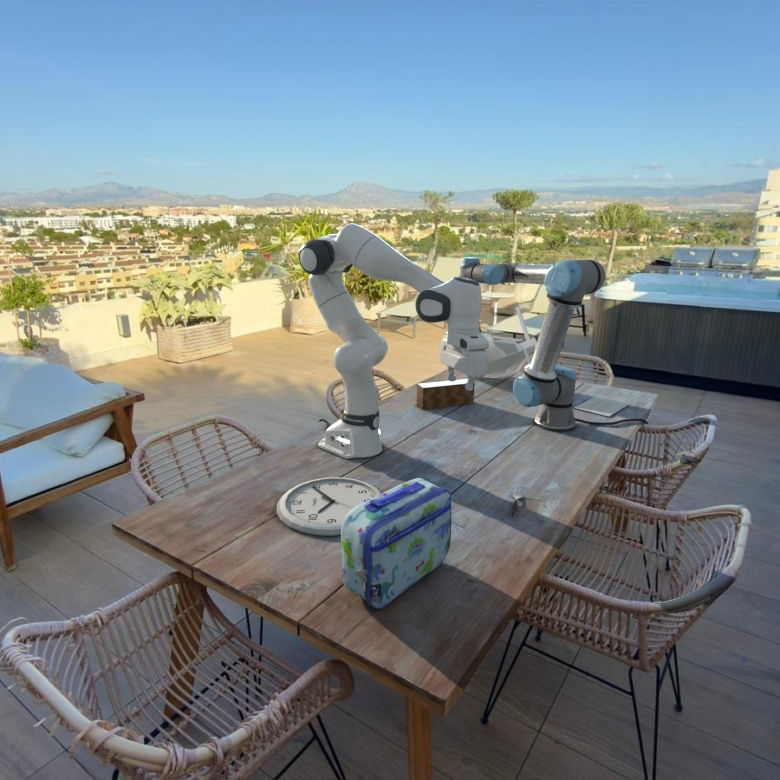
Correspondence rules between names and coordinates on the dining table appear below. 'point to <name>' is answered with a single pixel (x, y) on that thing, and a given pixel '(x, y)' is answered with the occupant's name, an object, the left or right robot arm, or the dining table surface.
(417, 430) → the dining table surface
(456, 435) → the dining table surface
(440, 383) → the box
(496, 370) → the white plastic object
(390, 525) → the lunch box
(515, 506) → the fork
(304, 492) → the wall clock
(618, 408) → the invitation card
